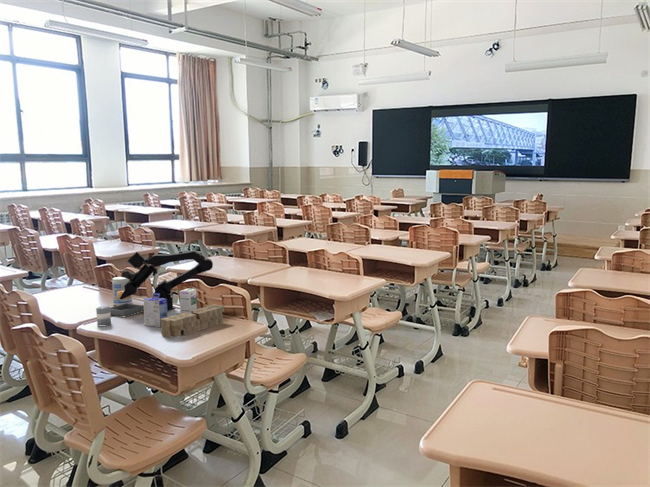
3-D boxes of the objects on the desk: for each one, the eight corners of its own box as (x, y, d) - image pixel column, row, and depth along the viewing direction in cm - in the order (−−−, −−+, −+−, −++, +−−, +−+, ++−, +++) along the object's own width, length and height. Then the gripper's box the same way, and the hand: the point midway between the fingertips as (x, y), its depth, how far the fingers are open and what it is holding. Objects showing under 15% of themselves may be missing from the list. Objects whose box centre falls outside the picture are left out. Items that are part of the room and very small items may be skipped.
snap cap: (131, 297, 247) (131, 291, 247) (117, 299, 244) (117, 293, 244) (131, 295, 253) (130, 289, 253) (117, 297, 250) (116, 290, 250)
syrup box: (191, 321, 230) (189, 291, 228) (180, 320, 232) (179, 290, 230) (198, 318, 236) (196, 288, 234) (188, 317, 237) (186, 288, 236)
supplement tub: (114, 307, 262) (112, 280, 261) (112, 303, 271) (110, 277, 269) (133, 304, 267) (131, 278, 265) (131, 301, 275) (129, 275, 273)
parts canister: (114, 323, 230) (112, 306, 229) (103, 326, 225) (101, 309, 224) (105, 322, 232) (104, 305, 232) (94, 325, 227) (93, 308, 226)
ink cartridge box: (169, 324, 226) (167, 293, 225) (160, 327, 221) (158, 296, 220) (152, 322, 231) (150, 292, 229) (144, 325, 226) (142, 294, 224)
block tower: (172, 341, 205) (226, 322, 228) (171, 321, 204) (224, 304, 227) (161, 338, 210) (214, 320, 233) (159, 318, 208) (213, 302, 231)
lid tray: (143, 311, 252) (143, 305, 252) (124, 317, 241) (123, 311, 241) (126, 308, 258) (126, 303, 257) (106, 314, 247) (106, 308, 247)
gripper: (132, 261, 257) (111, 283, 255) (127, 267, 239) (104, 291, 237) (149, 275, 259) (129, 297, 258) (145, 281, 241) (123, 305, 240)
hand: (121, 297), depth 248 cm, fingers closed on snap cap, 6 cm apart
